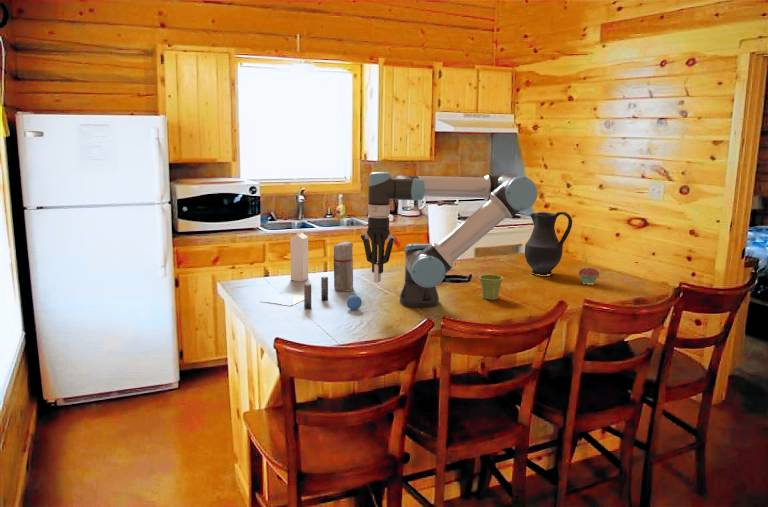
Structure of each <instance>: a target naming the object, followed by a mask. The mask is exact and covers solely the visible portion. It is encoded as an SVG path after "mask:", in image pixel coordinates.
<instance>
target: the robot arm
mask: <svg viewBox="0 0 768 507" xmlns="http://www.w3.org/2000/svg"><path fill="white" fill-rule="evenodd" d="M367 187H368V196H367V197H368V199H367V200H368V202H367V203H368V204H367V205H368V210H367V213H368V217H367V230H366V232H365V233H364V234H361V235H360V238H361V241H362V242H363V248H364V253H365V257H366V261H367V262H369V263H371V272H372V273H373V283H375V284H377V283H380V282H382V281H381V280H382V274H383V273H384V264H388V263H389V261H390V257H391V252H392V250H393V246H394V243H395V241H396V240H397V238H396V236H393V235H392V234H391V231H390V217H389V216H390V212H391V211H390V209H391V207H390V204H391V202H390V201H391V200H392V201H395V200H397V201H421V200H423V199H424V197H427V198H428V197H431V198H433V197H436V198H438V197H439V198H440V197H441V198H470V199H473V198H474V199H477V198H478V199H483V200H484V201H485V203H484V204H483V205H481V207H479V208H478V209H477V210H476V211H475V212H473V213H472V214H471V215H469V216H468V217H467V218H466V219H465V220H464V221H462V222H461V223H460V224H459V225H458V226H456V228H455V229H453V230H452V231H451V232H450V233H449V234H447V235H446V236H445V237H444V238H443V239H441V240H440V241H438V243H436V242H434V243H433V242H431V243H408V244H406V246H405V249H404V254H405V256H404V257H405V258H404V284H403V286H402V290H401V292H400V295H399V303H400V304H401V305H403V306H406V307H409V308H419V309H422V308H432V307H436V306H437V305H439V303H440V296H439V293H438V289H437V286H439V285H440V284H441V283H442V281H443V280H444V279H445V276H446V274H447V273H449V271H451V270H452V269H453V267H454V262H455V261H456V260H457V259H459V257H461V256H462V255H463V254H464V253H465V252H466V251H468V250H469V249H470V248H471V247H473V245H475V244H477V243H478V241H480V240H482V238H483V237H485V236H486V235H487V234H488V233H489V232H491V230H493V229H494V228H495V227H496V226H498V225H499V224H500V223H501V222H502V221H503V220H505V219H512V218H514V216H516V215H517V214H518V213H520V212H523V211H526V210H529V209H530V208H532V207H533V206H534V204H535V203H536V201H537V198H538V188H537V186H536V183H535V182H534V181H533V180H532V179H531V178H529V177H528V176H526V175H522V174H521V175H519V174H516V173H503V174H502V173H501V174H485V176H483V177H473V176H471V177H470V176H435V175H431V176H429V175H427V176H426V175H418V176H417V175H407V174H400V175H397V176H396V177H394V178H393V177H392V176H391V173H390V172H386V171H373V172H370V174H369V176H368V186H367ZM370 241H371V242H370ZM386 241H387V243H386ZM386 244H387V245H386ZM385 245H386V248H385Z"/></svg>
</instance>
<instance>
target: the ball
mask: <svg viewBox="0 0 768 507" xmlns="http://www.w3.org/2000/svg"><path fill="white" fill-rule="evenodd" d="M346 305H347V308H348V309H350V310H352V311H358V310H359V309H360V308H361V307H362V298H361V297H360V296H359V295H356V294H351V295H350V296H348V297H347V300H346Z"/></svg>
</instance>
